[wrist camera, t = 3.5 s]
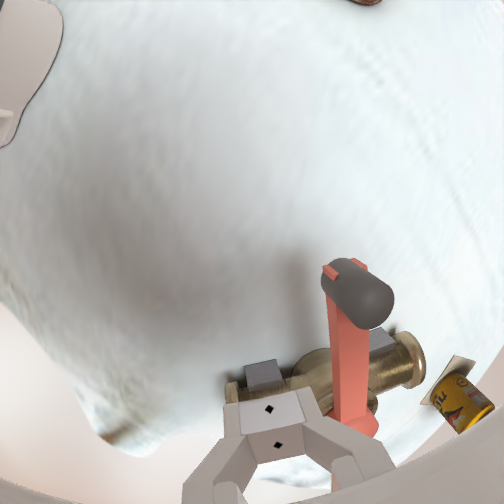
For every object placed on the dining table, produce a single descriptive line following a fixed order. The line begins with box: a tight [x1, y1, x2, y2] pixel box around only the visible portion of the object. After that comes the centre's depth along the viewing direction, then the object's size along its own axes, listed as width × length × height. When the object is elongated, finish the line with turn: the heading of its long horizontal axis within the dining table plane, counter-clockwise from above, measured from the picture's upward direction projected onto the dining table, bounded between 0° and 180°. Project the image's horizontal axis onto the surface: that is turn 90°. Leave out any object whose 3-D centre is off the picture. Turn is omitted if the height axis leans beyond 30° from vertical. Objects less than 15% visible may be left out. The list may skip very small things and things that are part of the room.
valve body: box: [225, 327, 426, 417], centre depth 24 cm, size 18×6×7 cm, turn 101°
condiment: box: [420, 355, 495, 435], centre depth 26 cm, size 7×8×12 cm
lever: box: [321, 258, 394, 438], centre depth 16 cm, size 4×16×4 cm, turn 11°
